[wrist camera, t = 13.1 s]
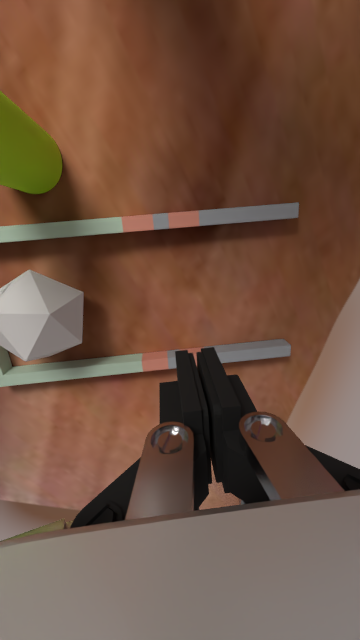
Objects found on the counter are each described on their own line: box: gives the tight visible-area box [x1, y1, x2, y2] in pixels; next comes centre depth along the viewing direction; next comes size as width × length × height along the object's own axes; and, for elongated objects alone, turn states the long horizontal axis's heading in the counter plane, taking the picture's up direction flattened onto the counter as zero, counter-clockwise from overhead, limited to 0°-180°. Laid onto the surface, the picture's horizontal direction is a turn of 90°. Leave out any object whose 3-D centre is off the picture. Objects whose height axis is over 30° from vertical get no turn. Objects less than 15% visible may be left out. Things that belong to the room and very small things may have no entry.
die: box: [0, 270, 84, 361], centre depth 26 cm, size 8×9×10 cm
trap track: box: [0, 202, 299, 387], centre depth 29 cm, size 17×34×2 cm, turn 95°
